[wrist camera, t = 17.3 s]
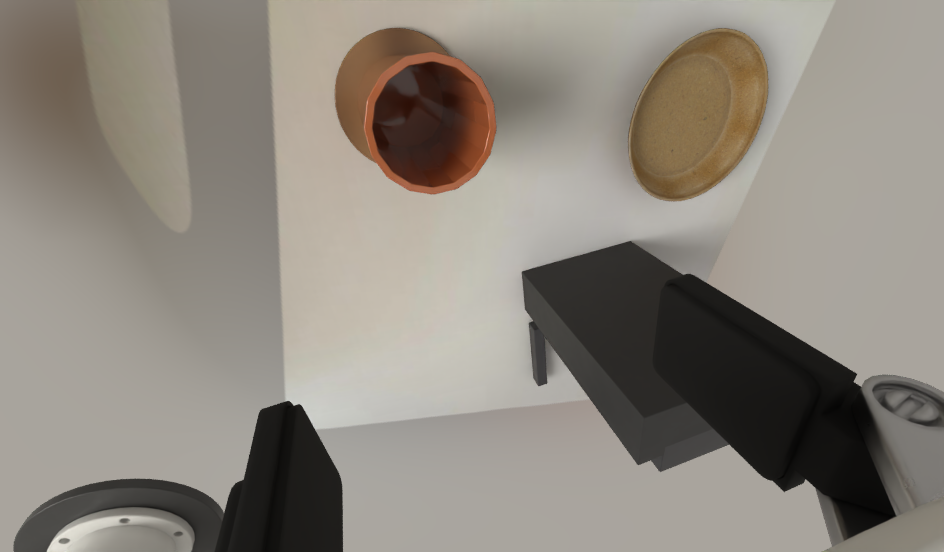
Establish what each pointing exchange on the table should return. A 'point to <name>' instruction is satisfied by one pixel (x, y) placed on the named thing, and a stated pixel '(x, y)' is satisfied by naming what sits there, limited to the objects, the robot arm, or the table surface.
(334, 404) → the table surface
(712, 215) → the table surface
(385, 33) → the coaster
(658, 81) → the plant saucer
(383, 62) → the orange tube
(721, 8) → the table surface
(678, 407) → the black box with legs
